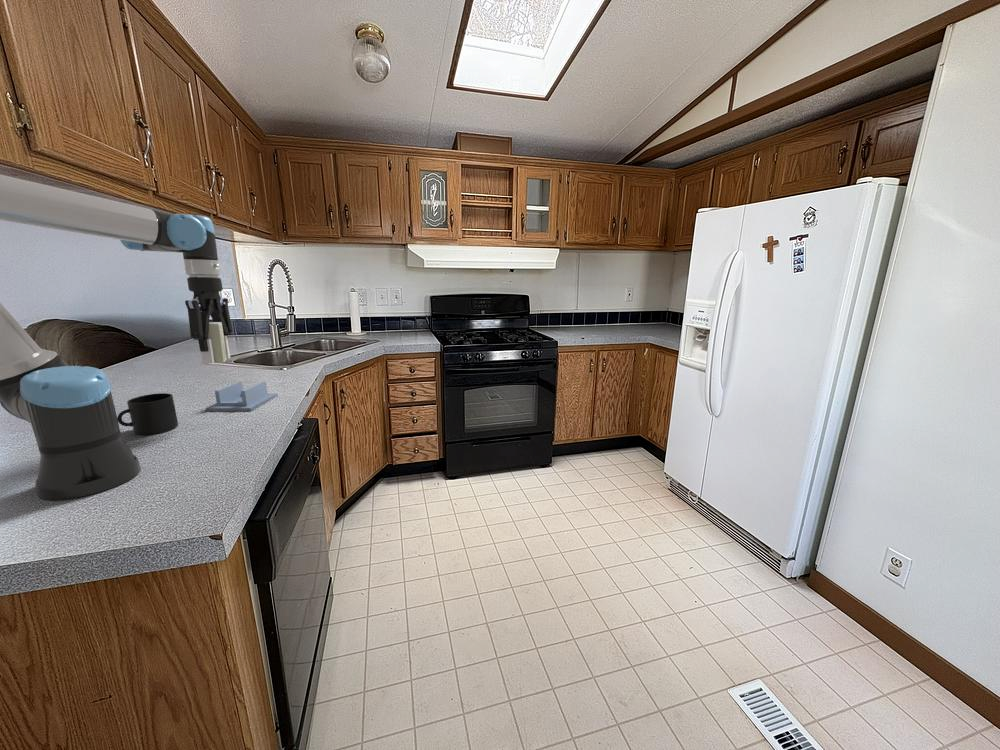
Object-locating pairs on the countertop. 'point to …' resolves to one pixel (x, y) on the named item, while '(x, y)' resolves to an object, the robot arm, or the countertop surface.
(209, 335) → the box
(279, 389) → the countertop surface
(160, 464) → the countertop surface
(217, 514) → the countertop surface
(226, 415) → the countertop surface
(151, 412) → the mug
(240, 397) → the slot bracket
